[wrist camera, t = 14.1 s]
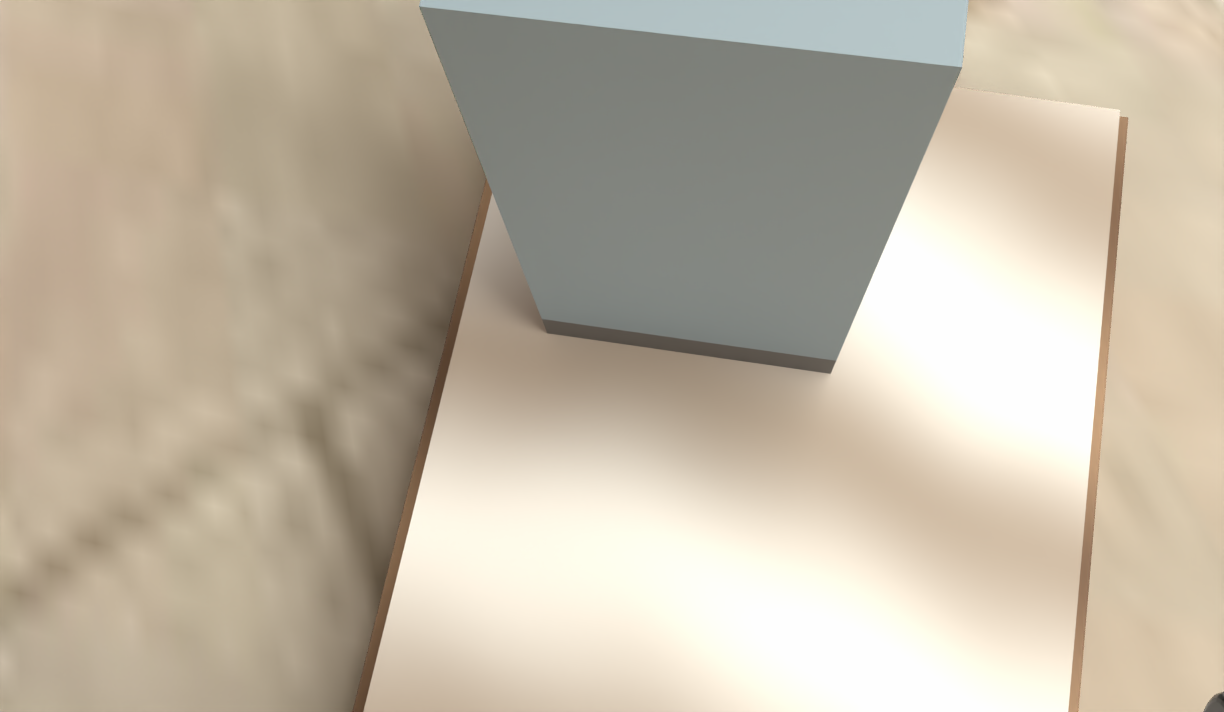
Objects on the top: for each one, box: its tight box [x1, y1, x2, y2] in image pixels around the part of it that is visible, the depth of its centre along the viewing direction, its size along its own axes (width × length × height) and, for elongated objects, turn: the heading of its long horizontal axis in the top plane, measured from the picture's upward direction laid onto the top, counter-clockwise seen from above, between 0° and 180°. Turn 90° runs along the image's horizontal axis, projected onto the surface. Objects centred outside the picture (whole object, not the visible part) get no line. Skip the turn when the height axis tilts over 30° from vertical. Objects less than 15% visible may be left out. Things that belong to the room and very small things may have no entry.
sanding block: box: [419, 0, 968, 374], centre depth 16 cm, size 5×5×10 cm
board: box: [353, 87, 1128, 712], centre depth 20 cm, size 16×12×2 cm
